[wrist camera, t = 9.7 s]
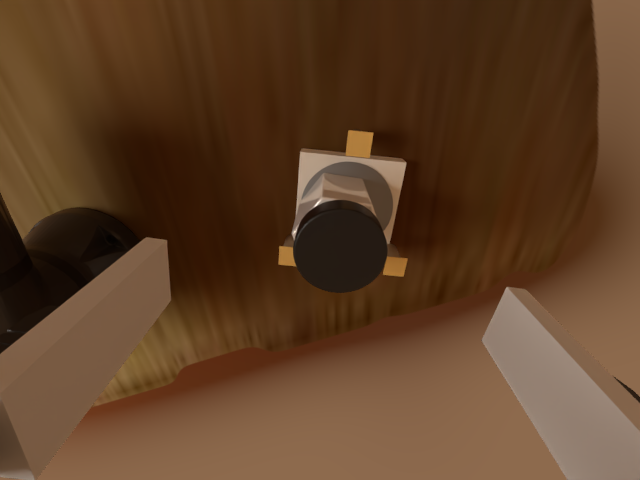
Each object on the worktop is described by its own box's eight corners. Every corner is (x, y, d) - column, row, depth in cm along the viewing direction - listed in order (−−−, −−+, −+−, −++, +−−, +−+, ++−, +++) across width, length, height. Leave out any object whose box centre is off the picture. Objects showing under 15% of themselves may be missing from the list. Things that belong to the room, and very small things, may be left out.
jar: (296, 233, 39) (282, 287, 28) (304, 168, 36) (293, 201, 25) (366, 243, 40) (380, 300, 29) (381, 180, 36) (404, 218, 25)
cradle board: (285, 240, 43) (278, 264, 37) (292, 118, 36) (284, 123, 30) (393, 250, 43) (403, 276, 37) (419, 131, 36) (436, 139, 30)
